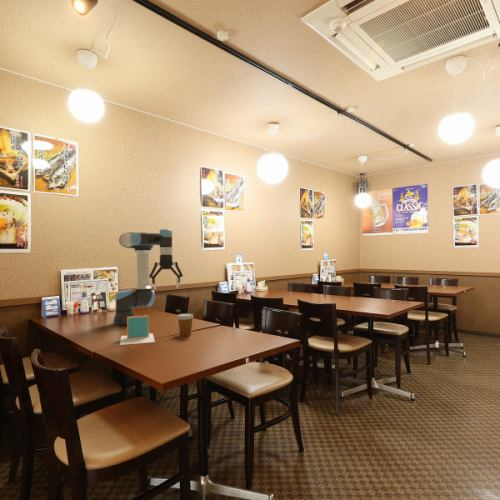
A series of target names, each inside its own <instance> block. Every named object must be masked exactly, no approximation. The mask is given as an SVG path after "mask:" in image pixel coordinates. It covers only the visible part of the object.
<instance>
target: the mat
mask: <svg viewBox="0 0 500 500" xmlns="http://www.w3.org/2000/svg"><path fill="white" fill-rule="evenodd" d="M153 333H154V332H153ZM153 333H149V337H139V338H127V334H126V335H121V336H120V340H119V345H120V346H123V345H133V344H135V345H136V344H146V343H155V337H154V334H153Z"/></svg>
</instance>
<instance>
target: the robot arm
mask: <svg viewBox="0 0 500 500" xmlns="http://www.w3.org/2000/svg"><path fill="white" fill-rule="evenodd" d="M118 242H119V245H121V247H123V248H127V249H134V252H135V253H136V271H137V272H136V277H137V278H136V280H137V282H136V283H137V286H136V287H135V288H134V289H135V290H134V289H125V290H124V289H123V290H119V291H117V292H115V297H114V299H115V313H114V317H113V320H112V325H114V326H127V317H133V316H135V314H134V308H143V307H144V308H145V307H151V306H152V305H153V304H154V302H155V299H156V298H155V297H156V294H155V291H154V290H157V279H156V277H157V276H158V275H159V274H160V272H162V270H170V271H171V272H172V273H173V274H174V275H175V276H176V277H175V289H179V284H180V283H181V278H182V277H184V275H183V273H182V271H181V268H180V267H179V265H178V264H179V263H178V262H177V261H174V262H173V230H172V229H169V228H168V229H167V228H164V229H160V230H159V233H158V232H157V233H156V232H153V233H152V232H129V231H128V232H124V233H122V234H121V235H120V236H119V239H118ZM154 246H159V262H156V261H155V262H154V263H153V267H152V269H151V271H150V252H152V249H153V248H154ZM158 266H159V267H158ZM173 266H175V268H173ZM157 267H158V269H157ZM175 269H176V270H177V271H176V270H175ZM156 270H157V271H156ZM150 279H151V280H150ZM150 281H151V283H152V284H153V288H152V286H150ZM153 289H154V290H153Z"/></svg>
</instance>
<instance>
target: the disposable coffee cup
mask: <svg viewBox="0 0 500 500" xmlns="http://www.w3.org/2000/svg"><path fill="white" fill-rule="evenodd" d="M193 318H194V315H193V314H192V313H180V314H177V321H178V329H179V330H178V331H179V335H180V336H182V337H187V336H191V335H192V327H193V326H192V325H193Z"/></svg>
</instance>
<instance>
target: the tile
mask: <svg viewBox="0 0 500 500" xmlns="http://www.w3.org/2000/svg"><path fill="white" fill-rule="evenodd" d="M149 334H150V316H149V315H134V316H133V317H127V325H126V335H127V338H139V337H149Z"/></svg>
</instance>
